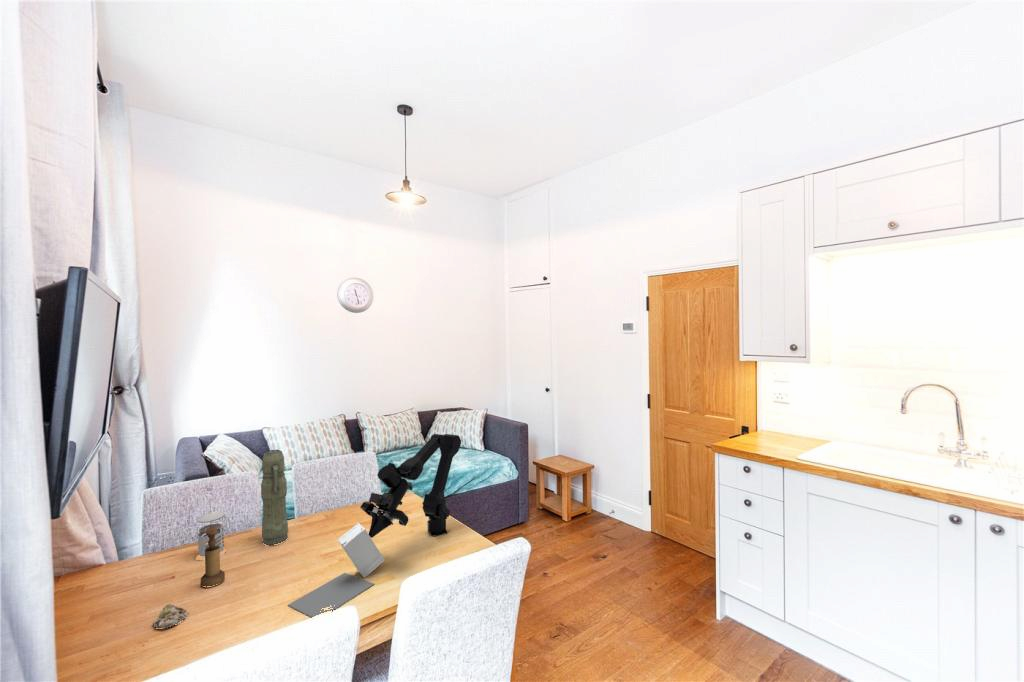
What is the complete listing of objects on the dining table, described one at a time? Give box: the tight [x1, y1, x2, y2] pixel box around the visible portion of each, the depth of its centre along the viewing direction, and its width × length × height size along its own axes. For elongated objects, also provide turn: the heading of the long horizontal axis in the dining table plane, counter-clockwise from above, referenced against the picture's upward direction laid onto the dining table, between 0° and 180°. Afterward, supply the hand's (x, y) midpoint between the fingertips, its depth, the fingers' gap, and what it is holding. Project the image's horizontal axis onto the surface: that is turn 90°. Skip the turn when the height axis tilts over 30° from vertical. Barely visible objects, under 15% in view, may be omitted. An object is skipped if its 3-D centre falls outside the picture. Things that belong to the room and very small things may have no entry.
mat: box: [287, 572, 375, 618], centre depth 133 cm, size 20×14×1 cm
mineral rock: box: [151, 603, 190, 629], centre depth 123 cm, size 11×4×8 cm
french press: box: [196, 485, 231, 556], centre depth 162 cm, size 10×12×25 cm
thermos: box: [260, 449, 289, 546], centre depth 170 cm, size 9×12×35 cm
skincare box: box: [337, 522, 385, 579], centre depth 144 cm, size 8×6×15 cm
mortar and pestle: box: [200, 526, 226, 587], centre depth 141 cm, size 7×6×18 cm
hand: (370, 536), depth 146 cm, fingers closed
